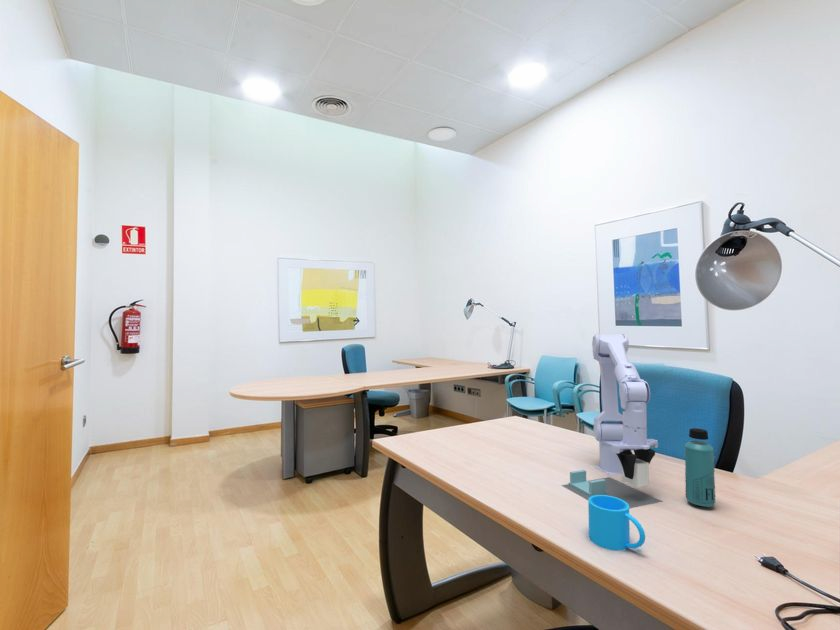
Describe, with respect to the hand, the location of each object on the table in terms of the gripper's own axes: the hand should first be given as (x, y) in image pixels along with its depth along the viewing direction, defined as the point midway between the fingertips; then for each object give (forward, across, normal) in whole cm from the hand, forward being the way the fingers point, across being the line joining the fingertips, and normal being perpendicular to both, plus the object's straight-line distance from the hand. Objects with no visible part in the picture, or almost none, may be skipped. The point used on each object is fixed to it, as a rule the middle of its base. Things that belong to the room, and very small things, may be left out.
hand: (635, 476), depth 109 cm
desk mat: (+6, -4, +5) cm, 9 cm away
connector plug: (+2, 0, 0) cm, 2 cm away
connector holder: (+6, -8, +9) cm, 13 cm away
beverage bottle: (+6, +12, -9) cm, 16 cm away
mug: (+6, -22, -15) cm, 27 cm away
